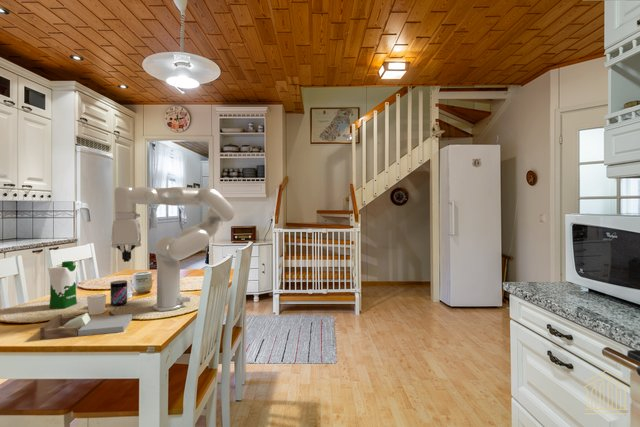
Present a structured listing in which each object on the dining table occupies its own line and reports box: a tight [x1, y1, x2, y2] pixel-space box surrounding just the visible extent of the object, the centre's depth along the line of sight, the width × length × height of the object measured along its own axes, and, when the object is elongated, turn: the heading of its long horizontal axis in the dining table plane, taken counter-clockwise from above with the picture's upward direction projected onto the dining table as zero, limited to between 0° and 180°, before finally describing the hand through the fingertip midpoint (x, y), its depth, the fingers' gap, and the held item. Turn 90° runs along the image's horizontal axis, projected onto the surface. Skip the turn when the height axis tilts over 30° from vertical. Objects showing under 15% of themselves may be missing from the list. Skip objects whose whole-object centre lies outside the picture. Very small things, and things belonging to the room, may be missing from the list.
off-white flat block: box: [63, 312, 91, 329], centre depth 122 cm, size 6×6×3 cm
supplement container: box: [110, 279, 128, 307], centre depth 153 cm, size 7×7×10 cm
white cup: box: [86, 294, 107, 316], centre depth 141 cm, size 7×7×7 cm
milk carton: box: [47, 260, 79, 309], centre depth 149 cm, size 9×9×20 cm
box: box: [39, 314, 92, 340], centre depth 121 cm, size 11×14×4 cm
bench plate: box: [77, 313, 133, 337], centre depth 125 cm, size 14×14×2 cm
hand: (126, 261), depth 137 cm, fingers closed
